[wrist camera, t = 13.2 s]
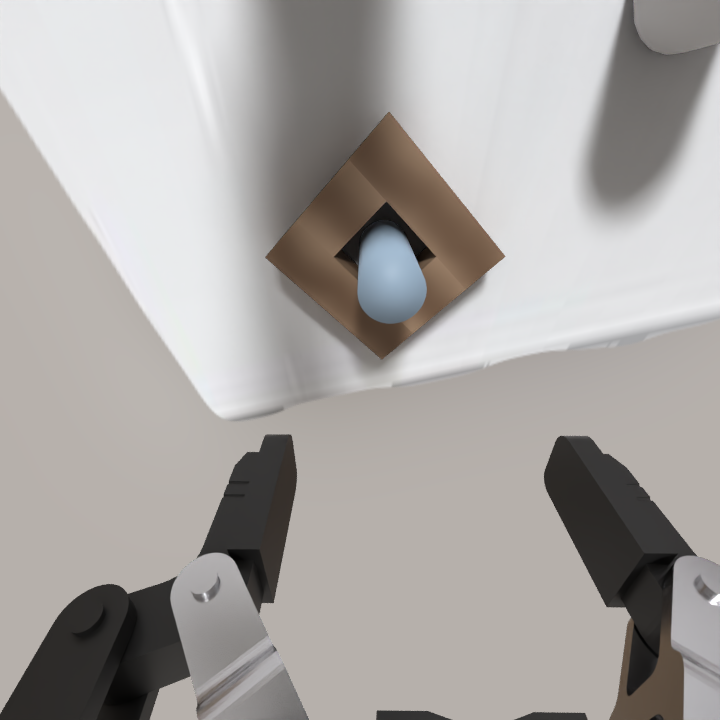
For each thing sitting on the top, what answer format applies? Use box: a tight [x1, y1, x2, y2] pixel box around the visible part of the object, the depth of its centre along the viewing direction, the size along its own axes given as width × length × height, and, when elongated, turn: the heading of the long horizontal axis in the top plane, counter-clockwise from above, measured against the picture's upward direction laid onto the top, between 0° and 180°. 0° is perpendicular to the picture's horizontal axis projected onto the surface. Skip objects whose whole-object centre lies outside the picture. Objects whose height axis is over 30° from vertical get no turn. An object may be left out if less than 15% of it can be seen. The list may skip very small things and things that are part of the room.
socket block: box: [265, 112, 505, 359], centre depth 32 cm, size 14×14×4 cm
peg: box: [357, 220, 427, 324], centre depth 28 cm, size 4×4×12 cm
